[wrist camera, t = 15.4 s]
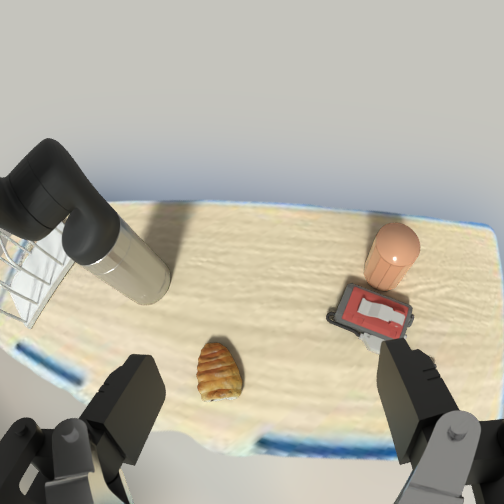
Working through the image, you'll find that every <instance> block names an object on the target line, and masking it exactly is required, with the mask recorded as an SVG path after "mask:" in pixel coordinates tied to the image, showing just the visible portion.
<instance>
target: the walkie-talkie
mask: <svg viewBox="0 0 504 504" xmlns="http://www.w3.org/2000/svg"><path fill="white" fill-rule="evenodd" d="M412 309H413V308H412V307H411V305H408V304H406V303H403V302H400V301H398V300H395V299H393V298H390V297H388V296H384V295H381V294H378V293H376V292H375V291H374V292H373V291H372V290H369V289H366V288H363V287H362V286H361V287H360V286H359V285H356V284H353V283H351V284H347V286H346V289H345V292H344V294H343V297H342V299H341V301H340V304H339V306H338V309H337V311H336V313H334V312H330V313H328V314H327V316H326V320H327V321H328V322H329V323H331V324H334V325H336V326H339V327H341V328H344V329H346V330H349V331H351V332H353V333H355V334H356V336H358V337H359V338H358V339H361V340H362V341H363V342H364V344H365V346H366V348H367V349H368V351H371V352H373V353H376V354H379V355H380V346H381V343H382V341H386V340H391V339H397V338H404V339H405V340H406V338H407V335H406V334H405V333H406V330H407V327H410V326H411V325H412V322H413V320H414V315H413V314H411V313H412ZM330 315H333V316H334V321H335V322H334V321H332V320H330V319H329V316H330ZM359 333H361V334H359ZM433 364H434V363H433ZM434 366H435V367H437V366H436V364H434ZM435 369H436V368H435Z"/></svg>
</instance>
